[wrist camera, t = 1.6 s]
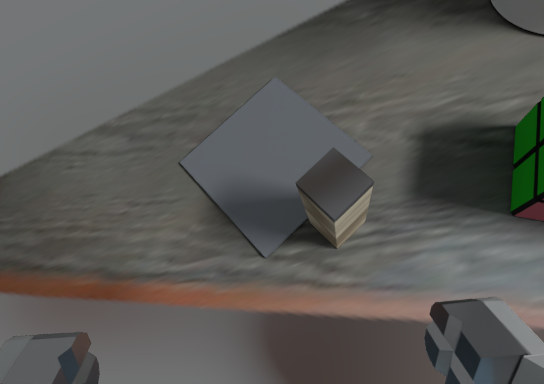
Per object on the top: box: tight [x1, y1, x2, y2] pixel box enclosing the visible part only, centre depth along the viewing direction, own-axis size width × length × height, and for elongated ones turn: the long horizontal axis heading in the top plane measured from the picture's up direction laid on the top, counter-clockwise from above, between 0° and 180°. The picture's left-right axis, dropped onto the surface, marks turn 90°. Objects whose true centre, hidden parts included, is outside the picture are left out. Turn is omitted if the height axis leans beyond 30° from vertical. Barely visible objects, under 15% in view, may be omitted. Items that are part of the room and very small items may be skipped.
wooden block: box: [296, 147, 374, 249], centre depth 31 cm, size 4×4×12 cm
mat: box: [180, 77, 373, 258], centre depth 40 cm, size 16×16×1 cm
